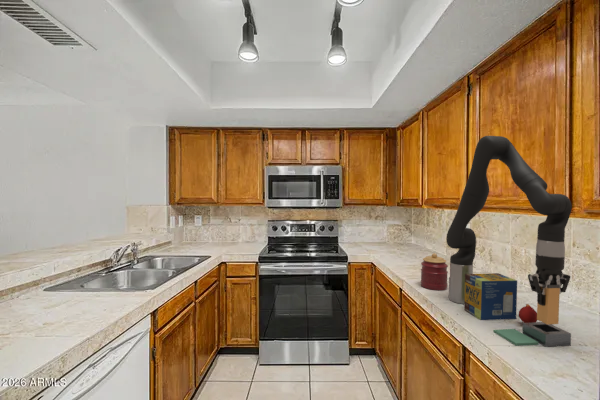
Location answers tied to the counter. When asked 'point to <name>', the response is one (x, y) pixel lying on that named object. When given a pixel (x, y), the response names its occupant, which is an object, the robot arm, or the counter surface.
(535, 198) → the robot arm
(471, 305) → the protein box
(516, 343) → the mat
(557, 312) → the plug
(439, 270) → the canister
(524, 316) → the red onion
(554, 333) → the gray square frame
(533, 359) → the counter surface
